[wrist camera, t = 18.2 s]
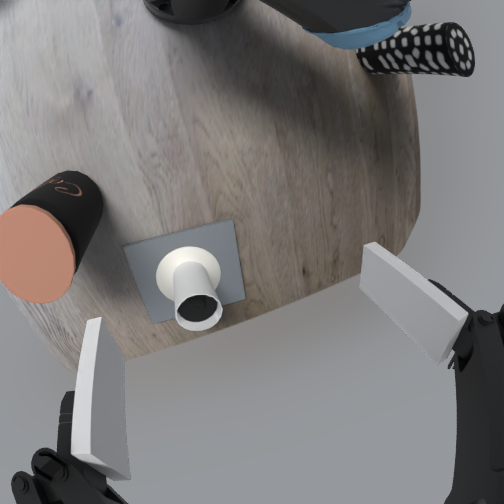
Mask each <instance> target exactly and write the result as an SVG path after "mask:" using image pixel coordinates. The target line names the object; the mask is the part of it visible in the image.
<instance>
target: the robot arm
mask: <svg viewBox="0 0 504 504" xmlns="http://www.w3.org/2000/svg"><path fill="white" fill-rule="evenodd" d="M143 1H144V3H145V5H146V7H147V8H148V9H149V10H150V11H151V12H152V13H153V14H154V15H156V16H157V17H159V18H161V19H163V20H166V21H169V22H172V23H177V24H201V23H206V22H210V21H213V20H216V19H218V18H220V17H222V16H224V15H226V14H227V13H228V12H230V11H231V10H232V9H233V8H234V7H235V6H236V5H237V3H238V2H239V1H240V0H143ZM259 1H261V2H263V3H265V4H267V5H268V6H270V7H272V8H274V9H275V10H277V11H279V12H280V13H282V14H284V15H285V16H287V17H288V18H290V19H292V20H293V21H295V22H296V23H298V24H299V25H301V26H302V28H303V29H304V30H305V31H307V32H308V33H311V34H314V35H316V36H317V37H319V38H320V39H322V40H323V41H325V42H326V43H328V44H329V45H331V46H333V47H338V48H342V49H358V48H363V47H367V46H370V45H373V44H376V43H378V42H381V41H383V40H385V39H387V38H388V37H390V36H392V35H393V34H395V33H396V32H397V31H398V27H400V26H404V25H405V24H406V23H407V21H408V20H409V18H410V15H411V7H410V3H409V1H411V0H259ZM359 288H360V289H361V290H362V291H363V292H364V293H365V294H366V295H367V296H368V297H369V298H370V299H372V300H373V301H374V302H375V303H376V304H377V305H378V306H379V307H380V308H381V309H382V310H383V311H384V312H385V313H386V314H387V315H388V316H389V317H390V318H391V319H392V320H393V321H394V322H395V323H396V324H397V325H398V326H399V327H400V328H401V329H402V330H403V331H404V332H405V333H406V334H407V335H408V336H409V337H410V338H411V339H412V340H413V341H414V342H415V343H416V344H417V345H418V346H419V348H420V349H422V351H423V352H424V353H425V354H426V355H427V356H428V357H429V358H430V359H431V360H432V361H433V362H434V363H435V364H436V365H439V364H440V363H441V362H443V361H444V360H445V359H447V357H448V355H449V354H450V352H451V350H452V349H453V350H454V351H455V354H454V356H453V357H452V359H451V361H450V363H449V365H448V369H450V367H451V366H452V364H453V362H454V366H453V369H455V381H456V400H457V440H456V458H455V469H454V478H453V486H452V490H451V492H450V494H449V496H448V497H447V498H446V500H445V503H444V504H504V304H503V305H502V307H501V310H500V312H497V313H494V314H491V313H489V312H487V311H484V310H478V311H476V312H474V311H473V310H472V309H471V308H469V307H468V306H467V305H466V304H464V303H463V302H462V301H461V300H459V299H458V298H457V297H456V296H455V295H452V293H451V292H449V291H448V290H446V288H444V287H443V286H442V285H440V284H439V283H437V282H435V281H433V280H430V279H429V280H426V279H425V278H424V277H423V276H421V275H420V274H419V273H417V272H416V271H415V270H413V269H412V268H411V267H409V266H408V265H407V264H405V263H404V262H403V261H401V260H400V259H398V258H397V257H396V256H394V255H393V254H392V253H390V252H389V251H387V250H386V249H385V248H383V247H382V246H380V245H379V244H377V243H376V242H372V243H369V244H366V245H364V248H363V259H362V268H361V277H360V285H359ZM124 366H125V357H124V355H123V353H122V352H121V350H120V349H119V347H118V345H117V343H116V342H115V340H114V338H113V337H112V335H111V333H110V331H109V329H108V328H107V326H106V324H105V322H104V320H103V318H102V317H99V318H94V319H90V320H87V325H86V329H85V334H84V339H83V344H82V350H81V355H80V361H79V368H78V374H77V382H76V389H75V391H69V392H66V394H65V396H64V398H63V400H62V402H61V409H60V417H59V423H60V424H59V427H58V441H57V453H56V452H55V451H54V450H52V449H49V448H41V449H39V450H38V451H36V453H35V454H34V455H33V458H32V461H31V466H32V471H33V473H34V476H31V475H30V474H28V473H26V472H23V471H19V472H17V473H16V474H15V475H14V476H13V478H12V482H11V486H12V492H13V494H14V497H15V500H16V503H17V504H128V503H127V502H126V501H125V500H124V499H123V498H122V497H121V496H120V495H118V494H117V493H116V492H115V491H114V490H113V489H112V488H111V487H110V486H109V485H108V484H107V482H106V477H108V478H110V479H112V480H113V481H119V480H131V475H130V467H129V458H128V447H127V435H126V419H125V388H124V369H125V368H124Z"/></svg>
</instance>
